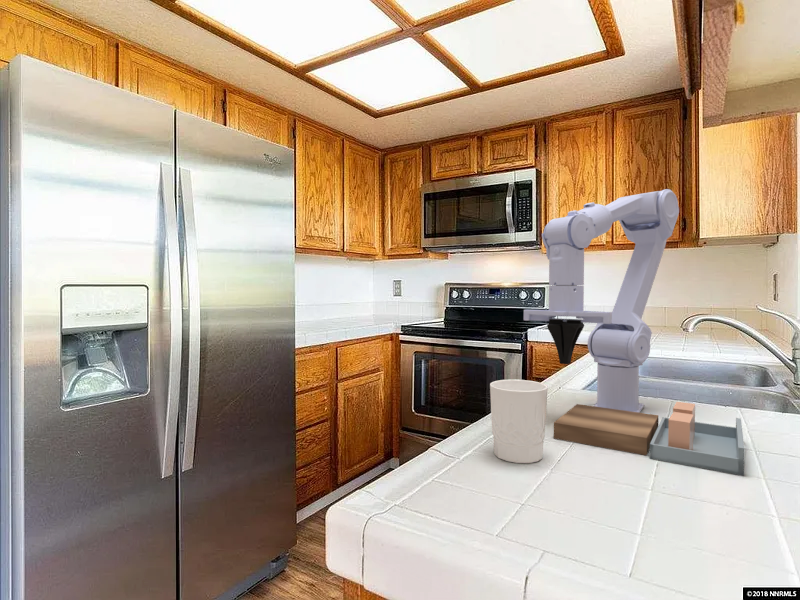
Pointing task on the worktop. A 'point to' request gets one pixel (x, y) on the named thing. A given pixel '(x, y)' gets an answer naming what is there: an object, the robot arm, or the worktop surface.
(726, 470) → the tray
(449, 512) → the worktop surface
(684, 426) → the tile near
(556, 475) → the worktop surface
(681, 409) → the tile far
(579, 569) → the worktop surface
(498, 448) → the white cup
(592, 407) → the board
